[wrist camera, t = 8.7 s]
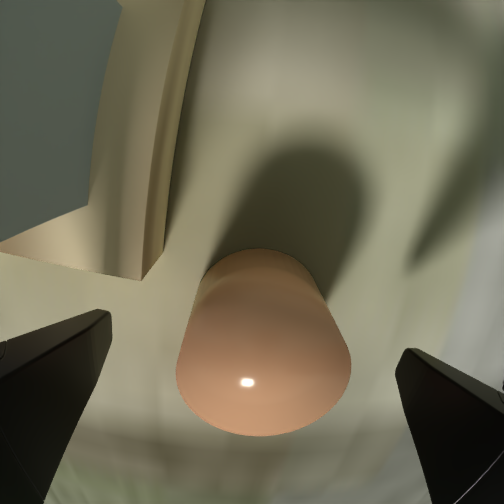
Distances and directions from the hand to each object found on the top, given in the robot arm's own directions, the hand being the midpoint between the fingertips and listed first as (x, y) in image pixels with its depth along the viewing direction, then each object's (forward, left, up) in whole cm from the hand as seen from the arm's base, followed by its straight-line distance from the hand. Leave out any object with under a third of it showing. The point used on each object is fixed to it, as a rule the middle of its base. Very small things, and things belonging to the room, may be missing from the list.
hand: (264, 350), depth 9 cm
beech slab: (+8, -6, -3) cm, 10 cm away
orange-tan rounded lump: (0, 0, -3) cm, 3 cm away
